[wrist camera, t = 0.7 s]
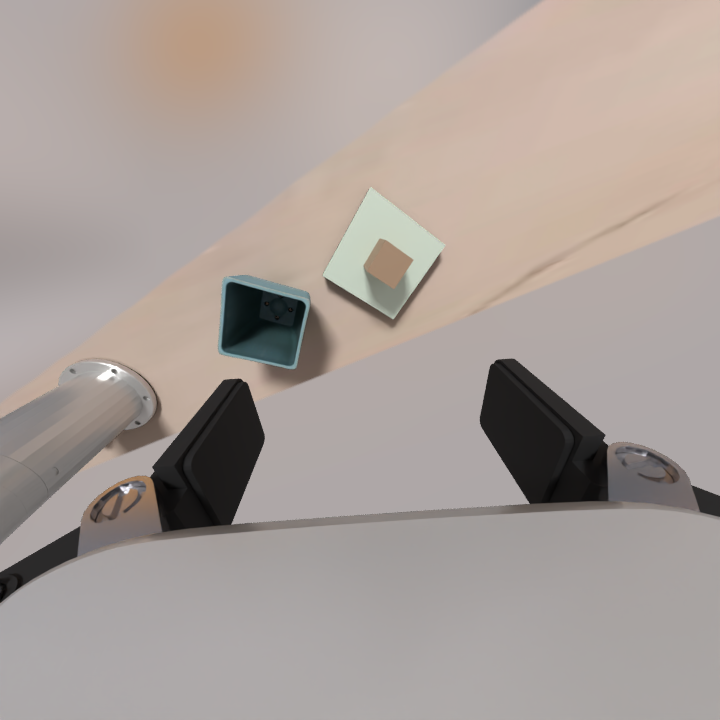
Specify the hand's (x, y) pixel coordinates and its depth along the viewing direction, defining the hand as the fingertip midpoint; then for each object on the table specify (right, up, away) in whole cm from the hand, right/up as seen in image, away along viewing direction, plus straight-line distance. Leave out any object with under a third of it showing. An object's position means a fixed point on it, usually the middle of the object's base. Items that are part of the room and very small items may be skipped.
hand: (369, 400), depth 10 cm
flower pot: (-12, +9, +26) cm, 30 cm away
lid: (+2, +14, +23) cm, 27 cm away
